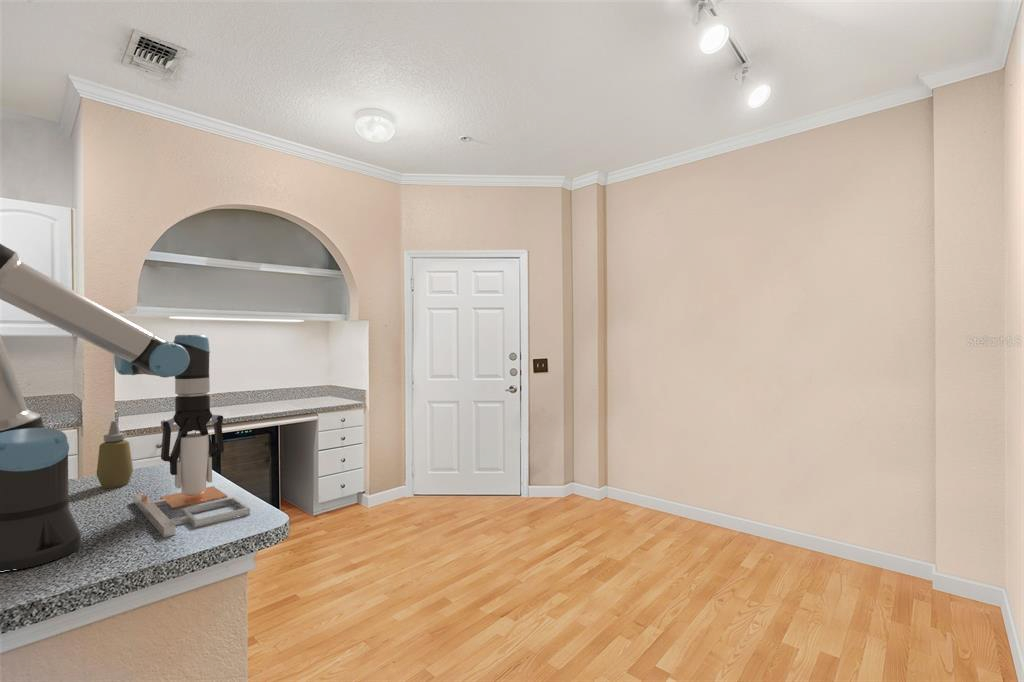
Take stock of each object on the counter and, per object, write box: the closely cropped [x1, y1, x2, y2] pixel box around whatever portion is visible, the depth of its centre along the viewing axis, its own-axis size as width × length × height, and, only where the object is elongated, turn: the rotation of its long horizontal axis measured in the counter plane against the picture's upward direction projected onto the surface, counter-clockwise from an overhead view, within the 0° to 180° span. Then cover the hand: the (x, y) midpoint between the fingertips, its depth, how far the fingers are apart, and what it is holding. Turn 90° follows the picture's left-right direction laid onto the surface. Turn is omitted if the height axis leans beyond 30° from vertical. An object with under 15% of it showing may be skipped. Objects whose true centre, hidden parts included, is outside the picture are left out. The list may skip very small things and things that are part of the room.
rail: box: [133, 486, 251, 538], centre depth 121 cm, size 32×18×3 cm, turn 46°
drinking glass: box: [178, 432, 210, 496], centre depth 129 cm, size 7×7×15 cm
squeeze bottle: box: [95, 420, 134, 489], centre depth 141 cm, size 8×8×18 cm
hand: (193, 483), depth 129 cm, fingers closed on drinking glass, 6 cm apart
